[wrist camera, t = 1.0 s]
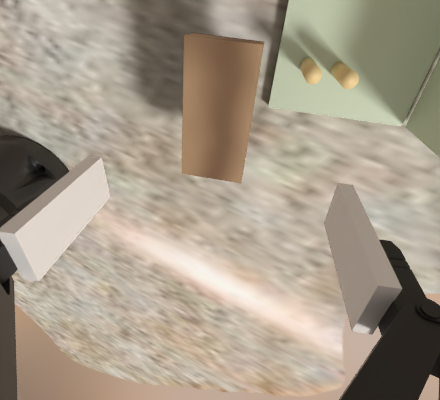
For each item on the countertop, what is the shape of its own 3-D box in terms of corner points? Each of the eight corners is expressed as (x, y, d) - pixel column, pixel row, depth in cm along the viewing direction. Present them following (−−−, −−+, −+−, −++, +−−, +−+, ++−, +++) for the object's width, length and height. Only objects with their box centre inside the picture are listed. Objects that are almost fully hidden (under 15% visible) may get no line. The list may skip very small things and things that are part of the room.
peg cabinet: (268, 104, 31) (266, 143, 22) (311, -121, 21) (339, -216, 12) (413, 125, 30) (473, 175, 21) (530, -104, 20) (739, -196, 11)
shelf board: (188, 162, 30) (181, 173, 28) (191, 32, 23) (183, 35, 21) (243, 171, 29) (240, 183, 27) (264, 41, 22) (263, 45, 20)
